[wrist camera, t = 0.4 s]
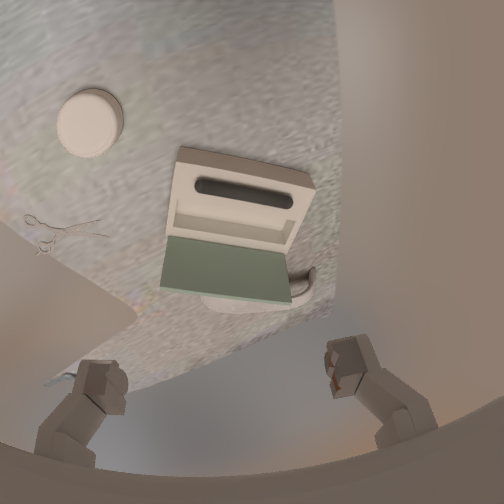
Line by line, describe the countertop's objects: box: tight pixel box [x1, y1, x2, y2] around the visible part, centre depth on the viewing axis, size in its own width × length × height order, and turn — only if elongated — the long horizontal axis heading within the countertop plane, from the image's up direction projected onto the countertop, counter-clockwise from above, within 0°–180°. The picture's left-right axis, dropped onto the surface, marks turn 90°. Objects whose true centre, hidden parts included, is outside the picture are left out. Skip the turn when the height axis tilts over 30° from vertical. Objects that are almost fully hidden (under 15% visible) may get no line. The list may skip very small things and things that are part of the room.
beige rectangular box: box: [166, 147, 316, 255], centre depth 46 cm, size 13×20×5 cm, turn 74°
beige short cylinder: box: [56, 89, 123, 158], centre depth 36 cm, size 10×10×4 cm
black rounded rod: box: [194, 179, 293, 209], centre depth 41 cm, size 2×14×2 cm, turn 74°
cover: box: [160, 236, 292, 306], centre depth 45 cm, size 10×19×1 cm
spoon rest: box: [200, 268, 316, 314], centre depth 60 cm, size 24×12×7 cm, turn 95°
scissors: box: [23, 215, 108, 257], centre depth 50 cm, size 11×1×20 cm
